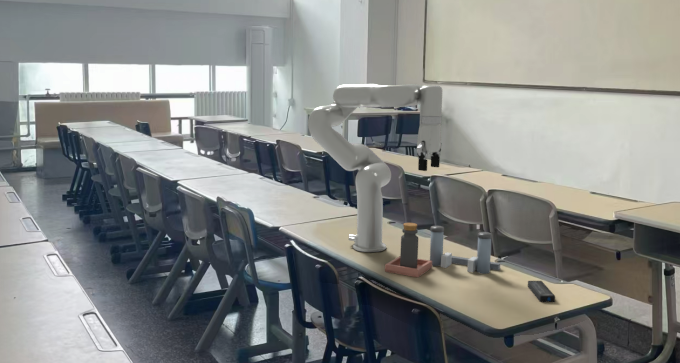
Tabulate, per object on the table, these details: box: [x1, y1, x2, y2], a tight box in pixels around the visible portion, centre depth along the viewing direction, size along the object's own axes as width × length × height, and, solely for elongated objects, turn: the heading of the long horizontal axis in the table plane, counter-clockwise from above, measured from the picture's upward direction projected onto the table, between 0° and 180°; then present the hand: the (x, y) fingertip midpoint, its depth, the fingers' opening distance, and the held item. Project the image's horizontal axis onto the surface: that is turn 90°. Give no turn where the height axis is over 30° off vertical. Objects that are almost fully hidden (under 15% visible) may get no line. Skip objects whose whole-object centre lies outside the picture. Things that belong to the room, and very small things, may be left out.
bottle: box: [399, 222, 419, 269], centre depth 231 cm, size 6×6×15 cm
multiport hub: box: [527, 280, 556, 303], centre depth 208 cm, size 4×14×2 cm, turn 0°
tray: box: [384, 255, 433, 278], centre depth 232 cm, size 12×12×2 cm
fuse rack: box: [429, 225, 501, 274], centre depth 235 cm, size 25×8×13 cm, turn 60°
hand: (428, 168), depth 243 cm, fingers open, 9 cm apart
